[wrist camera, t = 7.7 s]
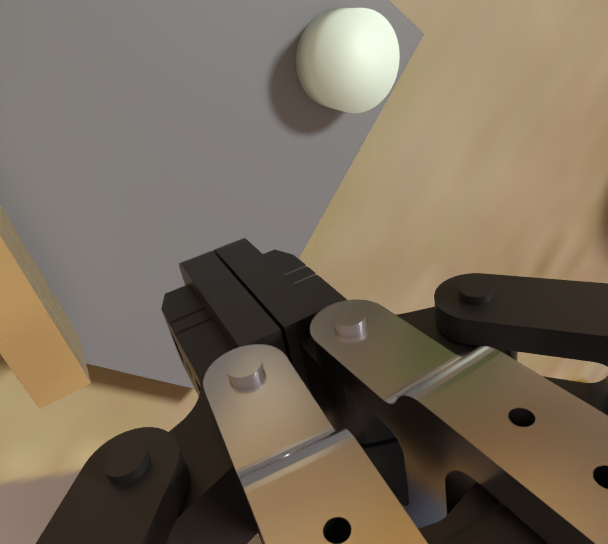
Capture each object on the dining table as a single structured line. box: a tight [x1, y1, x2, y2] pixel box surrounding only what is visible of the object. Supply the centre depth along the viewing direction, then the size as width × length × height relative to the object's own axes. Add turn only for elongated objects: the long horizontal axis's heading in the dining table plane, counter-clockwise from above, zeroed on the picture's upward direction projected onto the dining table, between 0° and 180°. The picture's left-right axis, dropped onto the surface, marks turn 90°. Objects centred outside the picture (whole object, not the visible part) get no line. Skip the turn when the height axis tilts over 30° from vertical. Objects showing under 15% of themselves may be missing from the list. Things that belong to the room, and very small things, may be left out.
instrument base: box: [0, 0, 424, 389], centre depth 17 cm, size 18×22×4 cm
